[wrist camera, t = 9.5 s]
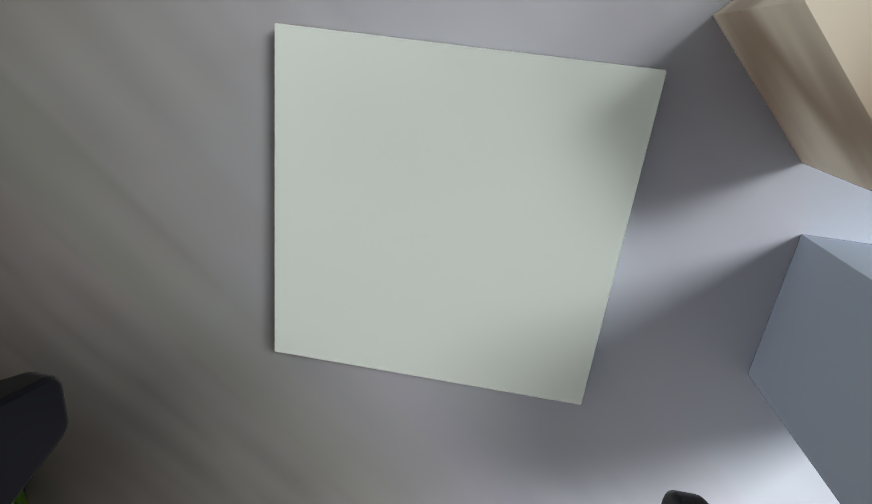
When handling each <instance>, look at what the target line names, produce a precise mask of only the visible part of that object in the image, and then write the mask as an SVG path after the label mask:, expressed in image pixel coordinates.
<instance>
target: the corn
mask: <svg viewBox="0 0 872 504" xmlns="http://www.w3.org/2000/svg"><path fill="white" fill-rule="evenodd" d="M14 501H15V500H14ZM12 504H14V502H13V503H12ZM16 504H28V501H27V499H26V496H25V493H24V491H23V490H22V491H21V493H20V494H19V495H18V496H17V498H16Z"/></svg>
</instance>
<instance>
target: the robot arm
mask: <svg viewBox="0 0 872 504" xmlns="http://www.w3.org/2000/svg"><path fill="white" fill-rule="evenodd" d="M67 424H68V417H67V411H66V405H65V399H64V393H63V388H62V383H61V381H60V380H59V379H58V378H57V377H55V376H53V375H47V374H42V373H36V372H27V373H23V374H20V375H16V376H13V377H10V378H7V379H3V380H0V504H12V503H13V502H14V500H15V499H16V498H17V496H18V495H19V494H20V493H21V491H22V490H23V489H24V487H25V486H26V485H27V483H28V482H29V481H30V479H31V478H32V477H33V475H34V474H35V473H36V471H37V470H38V469H39V467H40V466H41V465H42V463H43V462H44V461H45V459H46V458H47V457H48V455H49V454H50V453H51V451H52V450H53V449H54V448H55V446H56V445H57V444H58V442H59V441H60V440H61V438H62V437H63V435H64V433H65V431H66V428H67ZM662 504H708V503H707V502H706V501H705V500H704V499H703V498H702V497H701V496H699V495H696V494H692V493H687V492H681V491H676V490H671V491H668V492H667V493H666V494H665V496H664V498H663V501H662Z"/></svg>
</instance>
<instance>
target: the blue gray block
mask: <svg viewBox="0 0 872 504" xmlns="http://www.w3.org/2000/svg"><path fill="white" fill-rule="evenodd" d="M748 375H749V377H750V378H751V379H752V381H753V382H754V384H755V385H756V386H757V388H758V389H759V391H760V392H761V393H762V395H763V396H764V398H765V399H766V400H767V402H768V403H769V405H770V406H771V407H772V409H773V410H774V412H775V413H776V414H777V416H778V417H779V419H780V420H781V421H782V423H783V424H784V426H785V427H786V428H787V430H788V431H789V433H790V434H791V435H792V437H793V438H794V440H795V441H796V442H797V444H798V445H799V447H800V448H801V449H802V451H803V452H804V454H805V455H806V457H807V458H808V459H809V461H810V462H811V464H812V465H813V466H814V468H815V469H816V471H817V472H818V473H819V475H820V476H821V478H822V479H823V480H824V482H825V483H826V485H827V486H828V487H829V489H830V490H831V492H832V493H833V494H834V496H835V497H836V499H837V500H838V501H839V503H840V504H872V244H867V243H860V242H853V241H846V240H839V239H832V238H825V237H817V236H810V235H803V234H801V237H800V240H799V242H798V245H797V248H796V250H795V253H794V255H793V258H792V261H791V263H790V266H789V268H788V271H787V274H786V276H785V279H784V281H783V284H782V287H781V289H780V292H779V294H778V297H777V300H776V302H775V305H774V307H773V310H772V313H771V315H770V318H769V320H768V323H767V326H766V328H765V331H764V333H763V336H762V339H761V341H760V344H759V347H758V349H757V352H756V354H755V357H754V360H753V362H752V365H751V367H750V370H749V373H748Z"/></svg>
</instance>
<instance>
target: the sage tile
mask: <svg viewBox="0 0 872 504" xmlns="http://www.w3.org/2000/svg"><path fill="white" fill-rule="evenodd" d="M666 73H667V70H662V69H653V68H645V67H637V66H629V65H620V64H612V63H604V62H595V61H587V60H579V59H570V58H562V57H554V56H546V55H537V54H529V53H521V52H512V51H504V50H496V49H488V48H479V47H471V46H463V45H454V44H446V43H438V42H429V41H421V40H413V39H405V38H396V37H388V36H380V35H371V34H363V33H355V32H346V31H338V30H330V29H322V28H313V27H305V26H297V25H288V24H280V23H275V351H276V352H281V353H287V354H293V355H299V356H304V357H310V358H316V359H321V360H327V361H333V362H338V363H344V364H350V365H356V366H361V367H367V368H373V369H378V370H384V371H390V372H395V373H401V374H407V375H413V376H418V377H424V378H430V379H435V380H441V381H447V382H452V383H458V384H464V385H470V386H475V387H481V388H487V389H492V390H498V391H504V392H509V393H515V394H521V395H527V396H532V397H538V398H544V399H549V400H555V401H561V402H566V403H572V404H578V405H581V403H582V399H583V396H584V392H585V388H586V384H587V380H588V376H589V372H590V368H591V364H592V361H593V357H594V353H595V349H596V345H597V341H598V337H599V333H600V329H601V326H602V322H603V318H604V314H605V310H606V306H607V302H608V298H609V294H610V291H611V287H612V283H613V279H614V275H615V271H616V267H617V263H618V259H619V256H620V252H621V248H622V244H623V240H624V236H625V232H626V228H627V224H628V220H629V217H630V213H631V209H632V205H633V201H634V197H635V193H636V189H637V185H638V182H639V178H640V174H641V170H642V166H643V162H644V158H645V154H646V150H647V147H648V143H649V139H650V135H651V131H652V127H653V123H654V119H655V115H656V112H657V108H658V104H659V100H660V96H661V92H662V88H663V84H664V80H665V77H666Z"/></svg>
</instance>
